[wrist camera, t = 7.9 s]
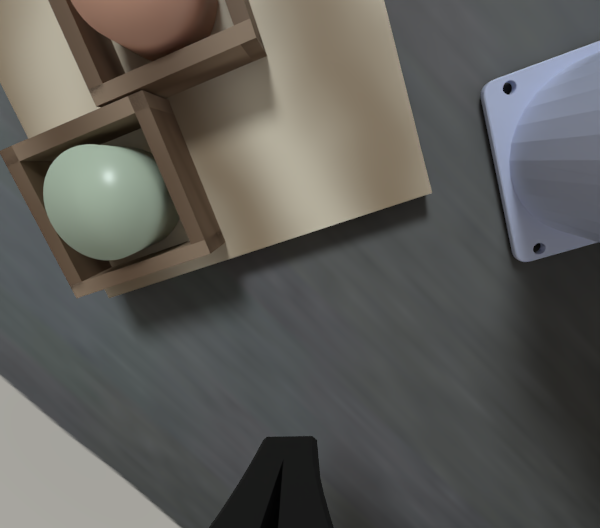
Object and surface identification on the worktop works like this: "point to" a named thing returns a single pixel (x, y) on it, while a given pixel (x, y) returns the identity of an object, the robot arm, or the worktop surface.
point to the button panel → (218, 125)
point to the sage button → (108, 200)
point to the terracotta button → (150, 23)
